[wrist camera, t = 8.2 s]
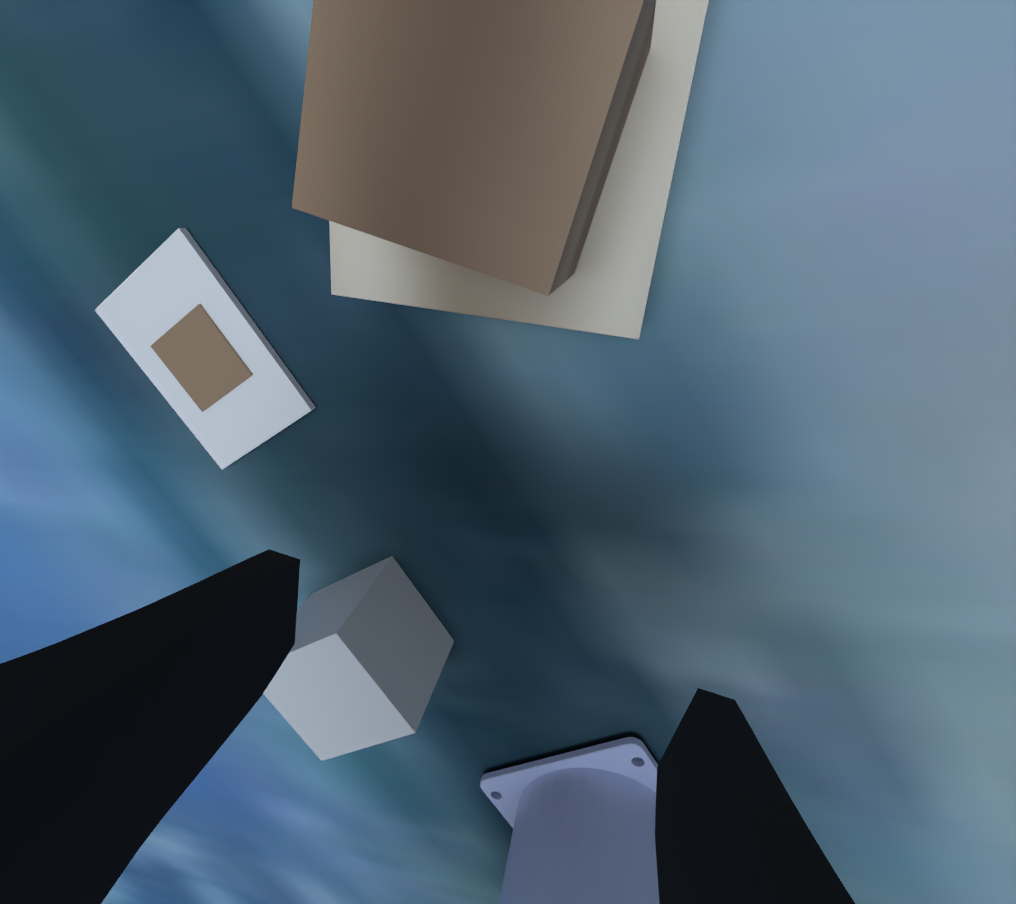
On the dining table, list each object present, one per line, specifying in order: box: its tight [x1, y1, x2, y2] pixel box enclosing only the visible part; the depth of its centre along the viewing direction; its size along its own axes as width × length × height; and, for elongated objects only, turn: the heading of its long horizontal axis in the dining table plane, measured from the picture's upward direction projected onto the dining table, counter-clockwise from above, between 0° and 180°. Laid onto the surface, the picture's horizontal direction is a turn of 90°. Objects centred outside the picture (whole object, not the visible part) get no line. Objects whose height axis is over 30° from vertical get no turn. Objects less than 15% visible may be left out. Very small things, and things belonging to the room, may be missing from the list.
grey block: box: [263, 556, 454, 761], centre depth 20 cm, size 4×4×4 cm
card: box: [95, 228, 316, 469], centre depth 19 cm, size 7×5×1 cm
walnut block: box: [292, 0, 656, 296], centre depth 10 cm, size 4×4×4 cm
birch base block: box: [329, 0, 709, 339], centre depth 13 cm, size 8×8×4 cm
